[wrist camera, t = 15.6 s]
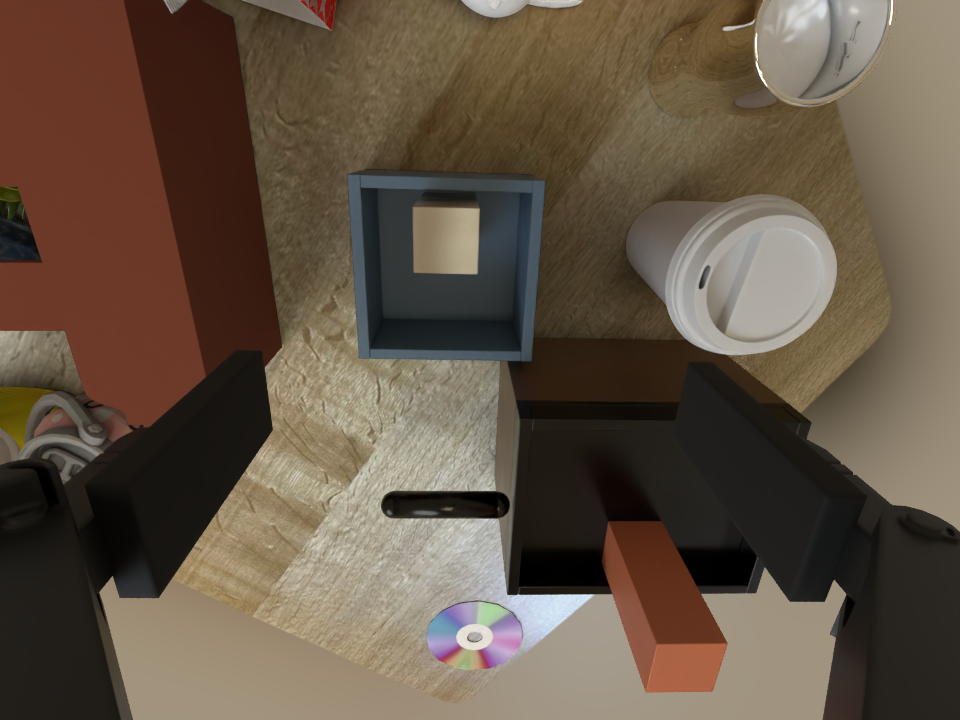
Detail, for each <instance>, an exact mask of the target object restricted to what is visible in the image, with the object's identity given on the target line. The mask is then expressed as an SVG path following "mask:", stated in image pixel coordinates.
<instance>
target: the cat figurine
mask: <svg viewBox="0 0 960 720" xmlns="http://www.w3.org/2000/svg"><path fill="white" fill-rule="evenodd" d="M461 1H462V2H463V3H464V4H465V5H466V6H467V7H469V8H470V9H471V10H473V11H475V12H476V13H478V14H481V15H483V16H487V17H494V18H499V17H506V16H509V15H512V14H514V13H516V12H518V11H520V10H521V9H522V8H524V7H525V6H526V5H527V4H530V5H534V6H540V7H549V8H561V7H571V6H576V5H578V4H579V3H581V2H582V1H583V0H461Z"/></svg>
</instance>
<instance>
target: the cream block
mask: <svg viewBox="0 0 960 720" xmlns="http://www.w3.org/2000/svg"><path fill="white" fill-rule="evenodd" d="M412 209H413V264H414V273H439V274H478V255H479V223H480V208H479V205H478V202H477V199H476V196H475V194H461V193H429V192H424V193H423V194H422V196H421V197H420V198H419V199H418V201H417V202H416V203H415V204H414V206H413V208H412Z"/></svg>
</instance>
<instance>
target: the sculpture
mask: <svg viewBox="0 0 960 720" xmlns="http://www.w3.org/2000/svg"><path fill="white" fill-rule="evenodd" d="M19 452H20V449H19V446H18V444H17V443H16V441H15V440H14V439H13V438H12V436H10V435H9V434H8V433H7V432H6V431H4V430H3V429H1V428H0V465H1V464H4V463H7V462H12V461H17V460H18V455H19Z"/></svg>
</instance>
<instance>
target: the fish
mask: <svg viewBox="0 0 960 720" xmlns="http://www.w3.org/2000/svg"><path fill="white" fill-rule="evenodd" d="M51 392H56V391H51V390H46V389H39V388H28V387H0V428H1V429H3V430H4V431H6V432H7V433H8V434H9V435H10V436H12V438H13V439H14V440H15V441H16V443H17V444H18V446H19V449H20V451H21V449H22V448H23V447H24V438H25V430H26V422H27V420H28V417H29V415H30V412H31V410H32V407H33V406H34V404H35V403H36V402H37V401H38V400H39V399H40V398H41V397H42V396H43V395H45V394H47V393H51ZM57 408H59V406H58V407H54V408H53V409H52V410H51V411H50V413H51V412H52V411H54V410H55V409H57Z"/></svg>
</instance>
